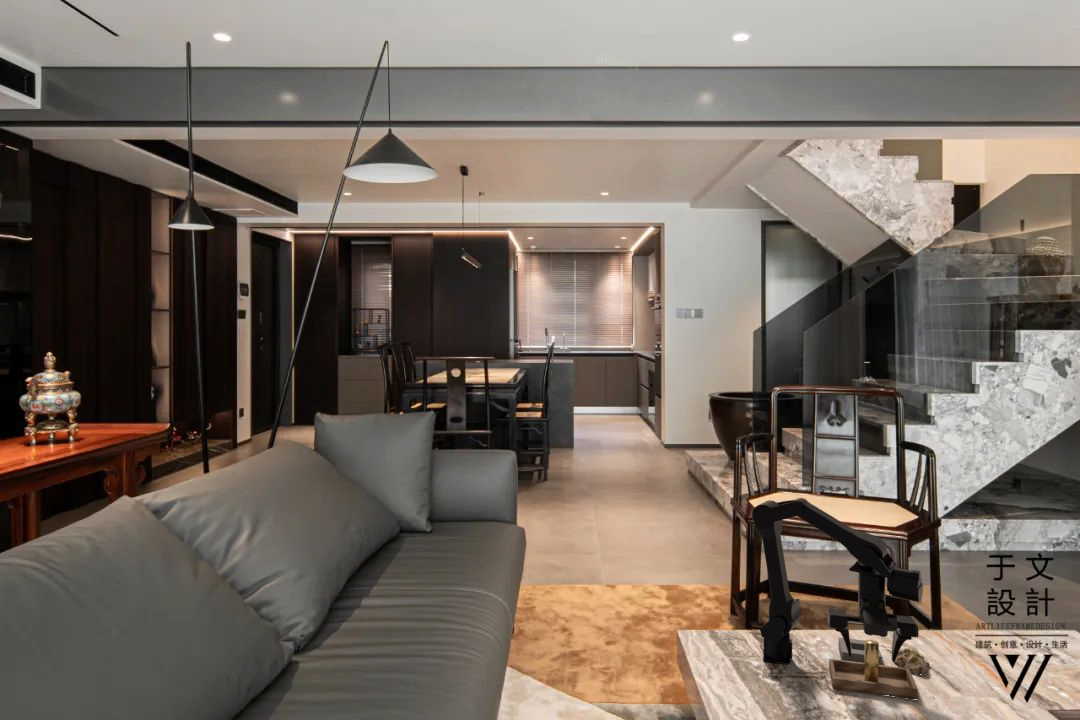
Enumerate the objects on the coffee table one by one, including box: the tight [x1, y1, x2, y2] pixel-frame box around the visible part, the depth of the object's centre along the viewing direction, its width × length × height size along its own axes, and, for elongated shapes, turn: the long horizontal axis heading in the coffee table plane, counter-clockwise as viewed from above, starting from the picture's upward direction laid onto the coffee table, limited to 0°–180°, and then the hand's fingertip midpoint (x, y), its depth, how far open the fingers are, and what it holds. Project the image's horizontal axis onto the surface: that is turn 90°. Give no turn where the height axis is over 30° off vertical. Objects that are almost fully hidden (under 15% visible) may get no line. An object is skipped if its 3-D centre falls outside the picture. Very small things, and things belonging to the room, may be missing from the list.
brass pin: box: [864, 639, 880, 683], centre depth 163 cm, size 3×3×9 cm
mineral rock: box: [895, 648, 931, 676], centre depth 171 cm, size 11×4×8 cm
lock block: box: [838, 637, 883, 665], centre depth 176 cm, size 9×9×3 cm
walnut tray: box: [828, 658, 919, 700], centre depth 162 cm, size 18×11×2 cm, turn 72°
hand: (871, 658), depth 162 cm, fingers open, 9 cm apart
